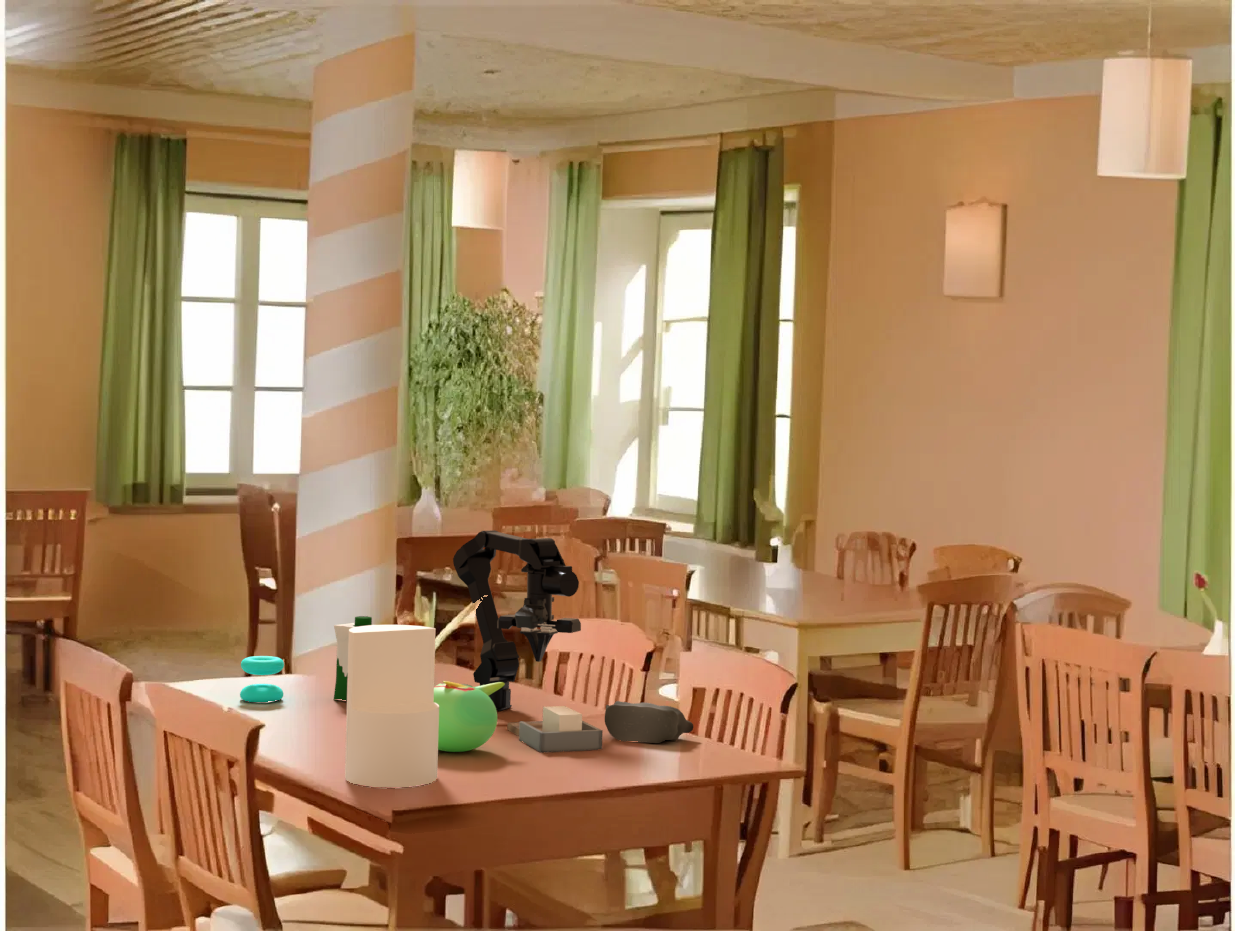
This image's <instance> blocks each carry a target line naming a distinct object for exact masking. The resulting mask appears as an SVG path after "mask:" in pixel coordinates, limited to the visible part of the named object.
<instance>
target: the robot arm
mask: <svg viewBox="0 0 1235 931" xmlns="http://www.w3.org/2000/svg"><path fill="white" fill-rule="evenodd" d="M497 551H499V552H500V551H501V552H505V553H508V554H513V555H516V556H518V558H519V560H521V561H523V562H525V563H526V564H525V566H522V568H521V570H520V571H521V573H527V574H526V576H527V577H526V597H524V600H523V606H521V607H520V608H519V609H518V610H517V611H516V612H515V613H514V614H505V615H504V614H503V615H500V616H499V615H498V611H497V608H496V604H495V601H494V600H495V599H494V597H493V595H492V590H491V587H490V583H489V578H490V576H491V571H492V566H491V562H492V561H493V560H494V558H495V557H496V556H497ZM452 560H453V561H452V563H453V566H454V569H455V572H456V574H457V577H458V578H459V579H460V580H461V581H462V582H463V584H464V585H466V586H467V588H468V593H469V596H470V600H471V603H472V604H473V603H475V602H476V601H477V600H479V599H480V601H482V602H481V603H480V604H479V606H478V608H477V609H476V614H475V617H476V620H477V621H476V622H477V624H478V629H479V632H480V636H481V639H482V642H483V644H482V648H481V651H480V656H479V657H480V662H481V663H480V664H479V665H478V666H477V668H476V669H475V670H474V672H473V673H472V675H473V680H474V681H473V682H474V683H478V684H479V686H482V685H486V684H491V683H497V682H503V683H505V685H504V686H503V687H502V688H500V689H499V690H497V691H495V692H494V693H492V694H490V695H489V697H490V699H491V700H492V701H493V703H494V705H495V707H496V711H498V712H501V711H504V710H506V709H510V708H512V704H511V697H512V696H511V692H512V691H511V690H512V689H511V688H510V682H515V680H516V676H517V673H518V670H519V667H520V661H519V659H520V655H519V654H518V651H517V645H516V643H515V642H514V641H508V640H507V639H506V638H505V636H504V633H503V630H510V629H511V628H512V627H516V628H518V629H521V630H519V633H520V634H521V635H522V634H523V635H524V637H525V638H526V639H527V641H528V642H529V645H530V647H531V650H532V654H533V656H534V660H535V662H538V663H540V662H542V660H543V657H544V655H545V652H546V650H547V648H548V645H549V644H550V642H551V640H552V638H553V636H554V635H556V634H558V633H564V634H573V633H578V632H581V630H582V623H581V620H580V619H579V618H572V617H571V618H570V617H562V618H558V619H556V620H554V619H555V615H554V614H553V613H552V611H553V610H552V609H553V608H552V607H553V603H554V602H555V597H553V596H561V597H573V596H574V595H575V594H576V593H577V592H578V590H579V586H580V585H579V584H580V581H579V578H578V576H577V574H576V573H575V572H574V571H573V566H572V565H566V563H565V560H564V558H563V556H562V555H561V552H560V550H559V547H558V546H557V544H556V540H554V539H553V538H552V537H541V538H540V537H539V538H525V537H521V536H518V535H513V534H509V533H504V532H500V531H498V530H496V529H494V530H493V529H492V530H481V531H479V532H478V533H477V534H476V535H475V536H474V537H473V538H471V539H470V540H468V541H467V542H465V543H463V545H461V547H460V548H459V549H458V550H456V552H455V554H454V555H453V558H452ZM484 595H488V596H487V597H483V596H484ZM481 597H482V598H483V600H482V599H481ZM502 629H503V630H502Z"/></svg>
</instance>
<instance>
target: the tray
mask: <svg viewBox="0 0 1235 931" xmlns="http://www.w3.org/2000/svg"><path fill="white" fill-rule="evenodd" d="M519 722H520V723H519V736H518V741H520V742H521V741H523V742H524V743H523V742H522V743H523V744H525V743H526V744H527V746H528V745H529V746H528V747H530V748H532V749H533V748H534V750H535V749H536V750H535V751H537V752H539V753H541V754H542V753H544V752H545V753H561V752H563V751H564V752H579V751H598V749H602V750H603V732H604V731H603V730H602V729H600V728H599V727H596V726H594V725H593V724H590V723H589V722H586V721H584V720H582V731H560V732H542V731H540V730H538V729H536V728H534V727H533V726H531V725H529V724H527V723H525V722H526V721H523V720H520V721H519ZM526 744H525V745H526ZM564 752H563V753H564ZM545 753H544V754H545Z"/></svg>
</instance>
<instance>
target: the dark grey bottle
mask: <svg viewBox="0 0 1235 931" xmlns="http://www.w3.org/2000/svg"><path fill="white" fill-rule="evenodd" d="M604 725H605V726H606V729H607V731H608V733H609V734H610V736H611V737H612V738H614V739H616V740H618V741H619V740H621V741H620V742H626V741H638V742H637V743H649V744H650V743H653V744H660V743H662V742H666V741H665V740H674V741H677V740H678V739H679V738H680V736H681V735H683V734H688V733H691V732H692V731H694V724H693V722H692V721H690V720H688V719H686V717H685V715H684V713H683V712H682V710H680V709H678V708H676V707H674V706H670V705H657V704H654V703H651V702H637V703H632V702H628V701H627V702H626V701H619V700H616V701H615V702H614V704H610V705H609V704H606V705H605V712H604Z"/></svg>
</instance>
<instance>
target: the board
mask: <svg viewBox="0 0 1235 931" xmlns="http://www.w3.org/2000/svg"><path fill="white" fill-rule="evenodd" d="M524 722H525V723H527V724H529V725H531V726H533V727H534V728H536V729H538V730H540V731H542V727H543V720H536V721H535V720H534V721H524ZM519 723H520V721H516V722H513V721H512V722H507V726H506V727H507V728H506V730H507V731H508V730H509V732H510V733H511V734H514V735H515V736H517V735H519Z"/></svg>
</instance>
